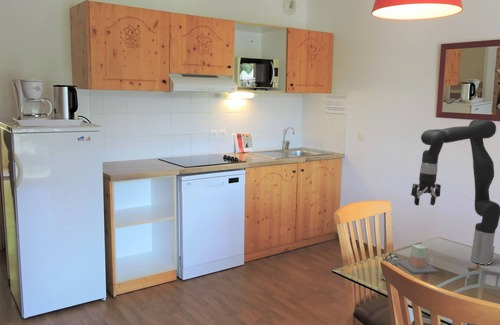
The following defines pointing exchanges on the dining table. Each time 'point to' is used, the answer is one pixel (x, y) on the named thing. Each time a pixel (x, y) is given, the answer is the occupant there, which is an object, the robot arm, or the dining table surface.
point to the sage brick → (418, 251)
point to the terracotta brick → (417, 262)
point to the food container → (392, 259)
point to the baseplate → (417, 270)
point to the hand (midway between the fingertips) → (424, 205)
